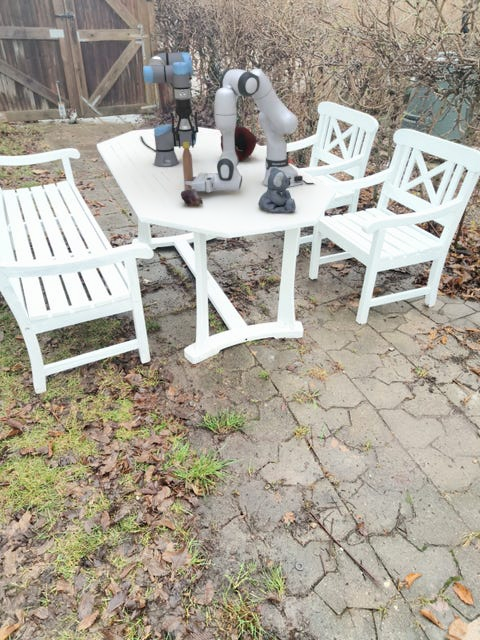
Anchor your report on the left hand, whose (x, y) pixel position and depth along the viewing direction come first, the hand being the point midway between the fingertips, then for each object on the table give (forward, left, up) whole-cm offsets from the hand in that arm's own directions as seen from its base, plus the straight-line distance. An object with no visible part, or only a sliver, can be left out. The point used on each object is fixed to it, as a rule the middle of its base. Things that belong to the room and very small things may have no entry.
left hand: (186, 147), depth 233 cm
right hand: (-1, -1, -18) cm, 18 cm away
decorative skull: (-26, +68, -24) cm, 76 cm away
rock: (+15, -12, -24) cm, 31 cm away
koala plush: (+51, +13, -24) cm, 58 cm away
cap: (0, 0, +2) cm, 2 cm away
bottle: (0, 0, -24) cm, 24 cm away
